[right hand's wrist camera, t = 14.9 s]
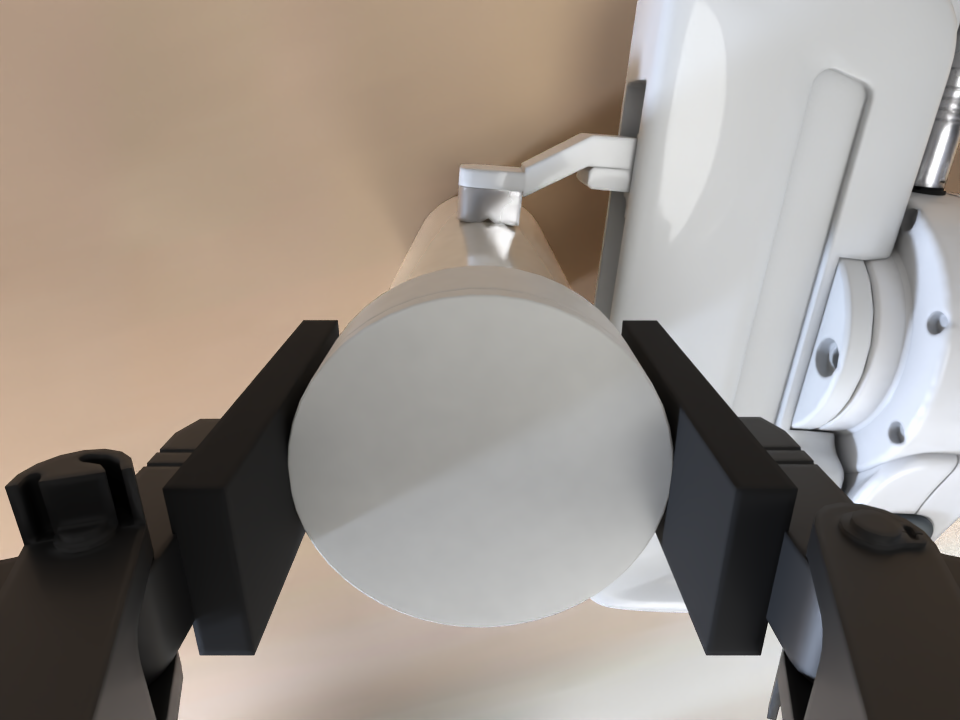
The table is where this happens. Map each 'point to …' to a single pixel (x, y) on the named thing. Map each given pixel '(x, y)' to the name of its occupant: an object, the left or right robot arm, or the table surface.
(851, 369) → the left robot arm
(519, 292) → the lid
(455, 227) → the jar
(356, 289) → the table surface
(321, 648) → the table surface
